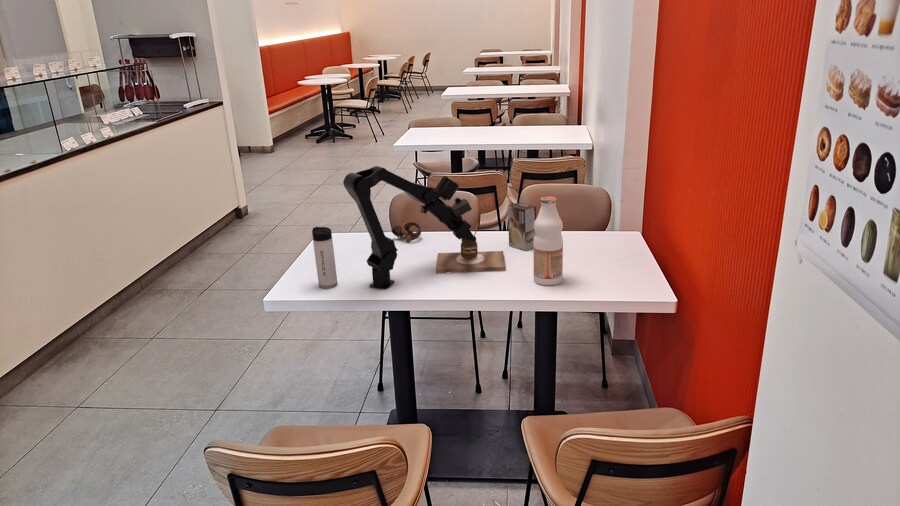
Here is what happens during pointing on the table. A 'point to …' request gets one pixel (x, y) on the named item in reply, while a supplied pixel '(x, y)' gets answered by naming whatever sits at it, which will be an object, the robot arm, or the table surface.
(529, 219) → the coffee box
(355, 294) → the table surface
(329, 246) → the travel mug
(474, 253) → the utensil holder
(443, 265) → the walnut board
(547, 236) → the fruit juice
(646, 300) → the table surface
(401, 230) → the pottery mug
